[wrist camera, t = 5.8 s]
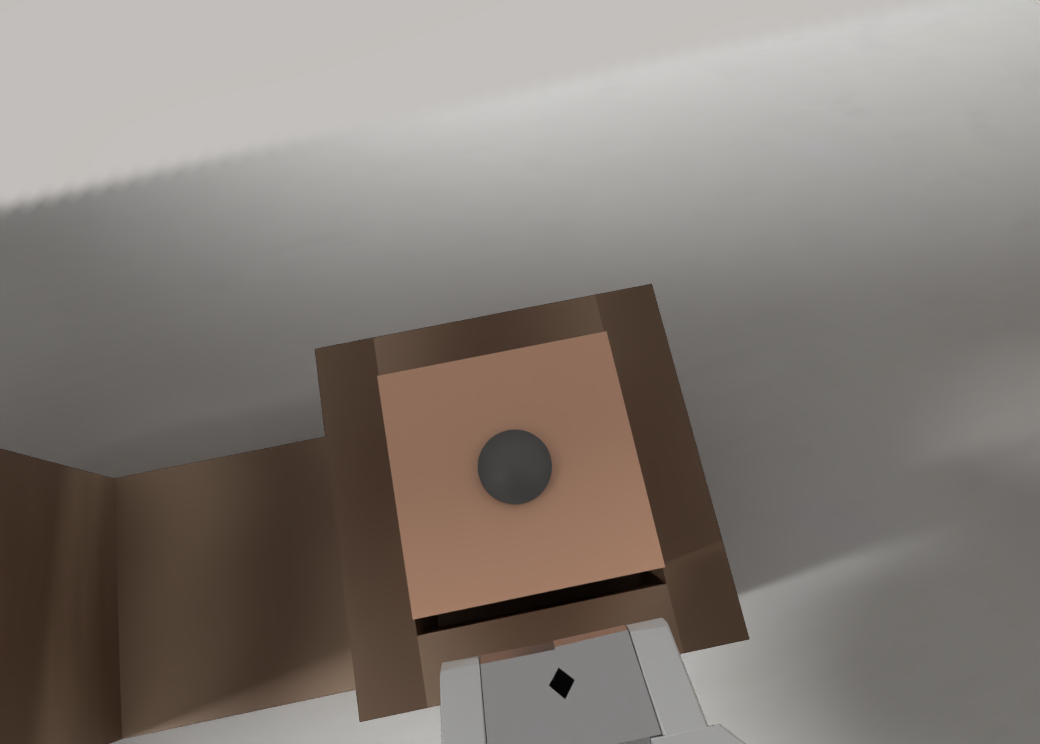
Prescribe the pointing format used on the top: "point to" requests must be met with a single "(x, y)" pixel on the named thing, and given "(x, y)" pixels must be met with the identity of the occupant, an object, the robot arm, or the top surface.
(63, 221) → the top surface
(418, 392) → the clay button
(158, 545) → the button console
